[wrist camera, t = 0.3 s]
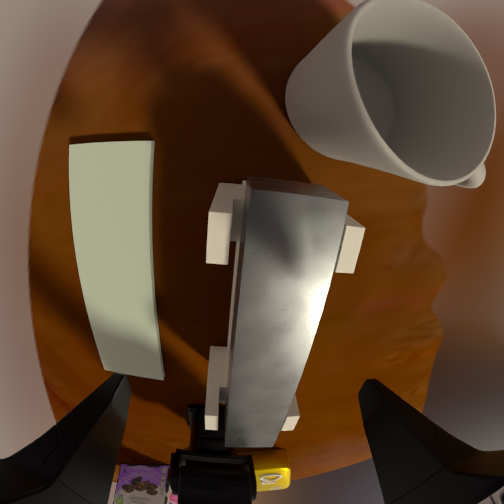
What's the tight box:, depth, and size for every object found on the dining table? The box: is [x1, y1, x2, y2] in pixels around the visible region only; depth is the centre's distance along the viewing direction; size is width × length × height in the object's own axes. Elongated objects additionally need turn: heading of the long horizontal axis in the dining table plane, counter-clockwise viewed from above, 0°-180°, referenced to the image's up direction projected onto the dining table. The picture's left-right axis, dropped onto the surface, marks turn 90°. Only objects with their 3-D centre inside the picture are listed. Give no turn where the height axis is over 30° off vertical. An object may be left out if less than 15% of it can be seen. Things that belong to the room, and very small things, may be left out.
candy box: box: [113, 464, 178, 504], centre depth 32 cm, size 14×6×16 cm, turn 112°
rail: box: [225, 176, 349, 447], centre depth 16 cm, size 20×4×4 cm, turn 174°
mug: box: [285, 0, 496, 188], centre depth 12 cm, size 12×8×11 cm
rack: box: [205, 180, 365, 431], centre depth 19 cm, size 18×7×8 cm, turn 174°
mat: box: [69, 141, 165, 380], centre depth 21 cm, size 23×7×1 cm, turn 174°
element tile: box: [237, 449, 291, 491], centre depth 36 cm, size 15×15×5 cm
